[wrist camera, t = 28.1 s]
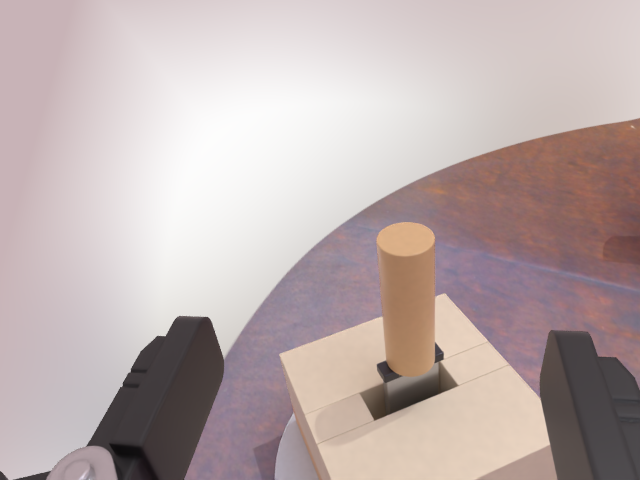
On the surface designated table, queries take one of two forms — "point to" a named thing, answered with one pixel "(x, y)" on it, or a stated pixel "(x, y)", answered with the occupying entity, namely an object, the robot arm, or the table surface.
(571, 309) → the table surface
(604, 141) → the table surface
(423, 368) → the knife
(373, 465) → the wooden slotted box
